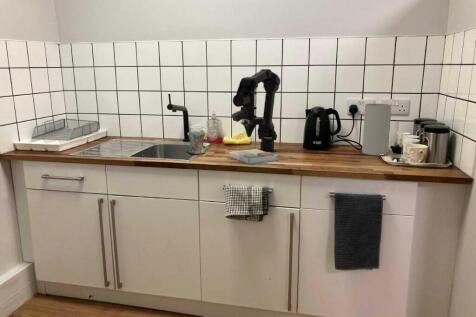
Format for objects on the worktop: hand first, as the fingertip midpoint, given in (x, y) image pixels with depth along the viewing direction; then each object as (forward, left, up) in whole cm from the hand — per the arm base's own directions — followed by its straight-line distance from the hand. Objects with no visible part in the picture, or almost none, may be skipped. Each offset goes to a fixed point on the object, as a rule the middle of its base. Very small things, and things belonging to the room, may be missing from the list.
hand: (248, 137), depth 193 cm
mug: (+18, -23, -11) cm, 31 cm away
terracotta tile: (-6, +5, -10) cm, 13 cm away
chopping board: (-2, -5, -11) cm, 12 cm away
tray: (-2, +5, -11) cm, 12 cm away
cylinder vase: (-63, +21, -11) cm, 67 cm away
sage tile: (+2, +4, -10) cm, 11 cm away
